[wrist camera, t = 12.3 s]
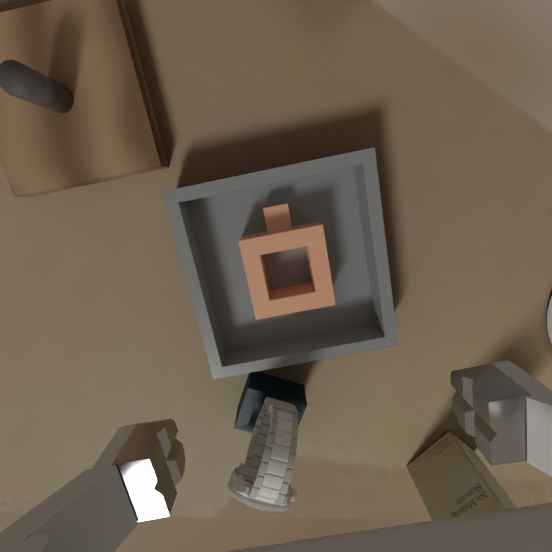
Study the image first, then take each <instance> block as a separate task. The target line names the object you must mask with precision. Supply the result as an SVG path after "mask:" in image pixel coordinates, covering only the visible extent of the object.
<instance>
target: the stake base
mask: <svg viewBox="0 0 552 552" xmlns="http://www.w3.org/2000/svg"><path fill="white" fill-rule="evenodd" d="M0 161H1V163H2V166H3V169H4V171H5V174H6V176H7V179H8V182H9V184H10V187H11V189H12V192H13V195H14V197H26V196H36V195H41V194H46V193H51V192H55V191H60V190H65V189H69V188H74V187H79V186H84V185H88V184H93V183H98V182H103V181H107V180H112V179H117V178H121V177H126V176H131V175H136V174H140V173H145V172H150V171H155V170H159V169H164V168H169V166H168V162H167V159H166V155H165V151H164V147H163V144H162V140H161V136H160V132H159V129H158V125H157V121H156V117H155V113H154V110H153V106H152V102H151V98H150V95H149V91H148V87H147V83H146V80H145V76H144V72H143V68H142V64H141V61H140V57H139V53H138V49H137V46H136V42H135V38H134V34H133V31H132V27H131V23H130V19H129V16H128V12H127V8H126V4H125V1H124V0H50V1H46V2H42V3H38V4H33V5H29V6H25V7H21V8H17V9H12V10H8V11H4V12H0Z"/></svg>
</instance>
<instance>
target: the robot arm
mask: <svg viewBox="0 0 552 552" xmlns="http://www.w3.org/2000/svg"><path fill="white" fill-rule="evenodd" d="M547 328H548V334H549V338H550V341H551V343H552V296H551V299H550V303H549V307H548V314H547ZM451 385H452V386H453V387H454V388H455V389H456V390H457V391H456V393H455V394H454V396H453V398H452V401H453V409H454V412H455V415H456V418H457V420H458V422H459V424H460V426H461V427H462V428H463V430H464V431H465V432H466V433H467V434H469V435H471V436H473V437H475V442H476V446H477V448H478V449H479V450H480V451H481V453H482V454H483V455H484V456H485V458H486V459H487V460H488V461H489V463H490V464H491V465H499V464H507V463H515V462H523V461H527V463H529V464H531V465H532V466H534V467H536V468H538V469H539V470H541V471H543V472H544V473H546V474H548V475H550V476H551V477H552V390H550V389H549V388H548V387H546V386H545V385H543V384H542V383H541V382H539V381H538V380H536V379H535V378H534V377H532V376H531V375H529V374H528V373H527V372H525V371H524V370H522V369H521V368H520V367H518V366H517V365H515V364H514V363H513V362H511V361H507V360H504V361H499V362H494V363H490V364H486V365H481V366H476V367H471V368H465V369H460V370H455V371H452V372H451ZM177 432H178V429H177V426H176V424H175V421H174V420H172V419H166V420H159V421H153V422H146V423H140V424H133V425H127V426H123V427H121V428H119V429H118V431H117V432H116V434H115V435H114V437H113V438H112V440H111V441H110V443H109V444H108V446H107V447H106V448H105V450H104V451H103V453H102V454H101V456H100V457H99V459H98V460H97V462H96V463H95V465H94V466H93V468H92V469H88V470H85V471H84V472H82V473H81V474H80V475H78V476H77V477H76V478H74V479H73V480H72V481H70V482H69V483H67V484H66V485H65V486H63V487H62V488H61V489H59V490H58V491H56V492H55V493H54V494H52V495H51V496H50V497H48V498H47V499H46V500H44V501H43V502H41V503H40V504H39V505H37V506H36V507H35V508H33V509H32V510H30V511H29V512H28V513H26V514H25V515H24V516H22V517H21V518H19V519H18V520H17V521H16V522H14V523H13V524H11V525H10V526H9V527H7V528H6V529H4V530H3V531H2V532H0V552H114V551H115V550H116V549H117V548H118V547H119V545H120V544H121V543H122V542H123V541H124V540H125V539H126V537H127V536H128V535H129V534H130V533H131V531H132V530H133V529H134V528H135V527H136V525H137V524H138V522H139V521H145V520H150V519H155V518H160V517H166V516H169V515H170V512H171V509H172V506H173V503H174V500H175V498H176V495H177V492H176V489H175V485H176V484H177V483H178V482H179V481H180V480H181V479H182V476H183V473H184V469H185V453H184V448H183V445H182V443H181V442H180V441H178V440H177V439H176V438H175V437H176V434H177ZM224 552H552V503H546V504H539V505H532V506H526V507H519V508H512V509H506V510H499V511H492V512H486V513H479V514H472V515H466V516H459V517H452V518H446V519H439V520H432V521H426V522H419V523H412V524H406V525H399V526H392V527H385V528H379V529H372V530H365V531H358V532H352V533H345V534H338V535H331V536H325V537H318V538H311V539H304V540H297V541H291V542H284V543H277V544H270V545H264V546H257V547H251V548H244V549H237V550H231V551H224Z"/></svg>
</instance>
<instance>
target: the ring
mask: <svg viewBox="0 0 552 552" xmlns="http://www.w3.org/2000/svg"><path fill="white" fill-rule="evenodd" d="M263 211H264V216H265V221H266V226H267V231H266V232H261V233H255V234H250V235H245V236H242V237H241V238H240V240H239V241H238V242H239V246H240V251H241V255H242V259H243V264H244V268H245V273H246V277H247V282H248V286H249V291H250V295H251V300H252V304H253V309H254V313H255V317H256V320H258V319H263V318H268V317H274V316H279V315H285V314H290V313H295V312H301V311H306V310H312V309H317V308H322V307H328V306H333V305H336V304H335V298H334V291H333V285H332V279H331V272H330V266H329V260H328V254H327V247H326V241H325V235H324V228H323V224H321V223H320V222H318V221H317V222H311V223H306V224H301V225H296V226H292V225H291V219H290V214H289V208H288V203H284V204H279V205H274V206H269V207H264V208H263ZM300 247H306V252H307V258H308V264H309V269H310V275H311V281H312V282H310V283H305V284H299V285H294V286H289V287H284V288H278V289H273V290H270V288H269V284H268V279H267V274H266V269H265V264H264V259H263V255H264V254H269V253H274V252H279V251H284V250H289V249H295V248H300Z"/></svg>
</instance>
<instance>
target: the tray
mask: <svg viewBox="0 0 552 552" xmlns="http://www.w3.org/2000/svg"><path fill="white" fill-rule="evenodd" d="M162 194H163V198H164V202H165V205H166V209H167V213H168V216H169V220H170V223H171V227H172V231H173V234H174V238H175V242H176V245H177V249H178V253H179V256H180V260H181V263H182V267H183V271H184V274H185V278H186V282H187V285H188V289H189V293H190V296H191V300H192V303H193V307H194V311H195V314H196V318H197V322H198V325H199V329H200V332H201V336H202V340H203V343H204V347H205V351H206V354H207V358H208V362H209V365H210V369H211V372H212V376H213V379H218V378H224V377H229V376H235V375H240V374H246V373H251V372H257V371H262V370H268V369H273V368H279V367H284V366H290V365H295V364H301V363H306V362H311V361H317V360H322V359H328V358H333V357H339V356H344V355H350V354H355V353H361V352H366V351H372V350H377V349H383V348H388V347H394V346H398V339H397V331H396V322H395V314H394V305H393V297H392V289H391V280H390V272H389V263H388V255H387V246H386V238H385V229H384V221H383V212H382V204H381V196H380V187H379V179H378V170H377V162H376V153H375V147H373V148H369V149H364V150H359V151H354V152H349V153H345V154H340V155H335V156H330V157H325V158H321V159H316V160H311V161H306V162H301V163H297V164H292V165H287V166H282V167H277V168H273V169H268V170H263V171H258V172H254V173H249V174H244V175H239V176H234V177H230V178H225V179H220V180H215V181H210V182H206V183H201V184H196V185H191V186H186V187H182V188H177V189H172V190H167V191H162ZM284 203H288V208H289V214H290V219H291V225H292V226H296V225H301V224H306V223H311V222H317V221H318V222H320V223H321V224H323V228H324V235H325V241H326V247H327V254H328V260H329V266H330V272H331V279H332V285H333V291H334V298H335V304H336V305H333V306H328V307H322V308H317V309H312V310H306V311H301V312H295V313H290V314H285V315H279V316H274V317H268V318H263V319H258V320H256V317H255V313H254V309H253V304H252V300H251V295H250V291H249V286H248V282H247V277H246V273H245V268H244V264H243V259H242V255H241V251H240V246H239V242H238V241H239V240H240V238H241V237H242V236H245V235H250V234H255V233H261V232H266V231H267V226H266V221H265V216H264V211H263V208H264V207H269V206H274V205H279V204H284ZM263 259H264V264H265V269H266V274H267V279H268V284H269V288H270V290H273V289H278V288H284V287H289V286H294V285H299V284H305V283H310V282H312V281H311V275H310V269H309V264H308V258H307V252H306V247H300V248H295V249H289V250H284V251H279V252H274V253H269V254H264V255H263Z"/></svg>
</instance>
